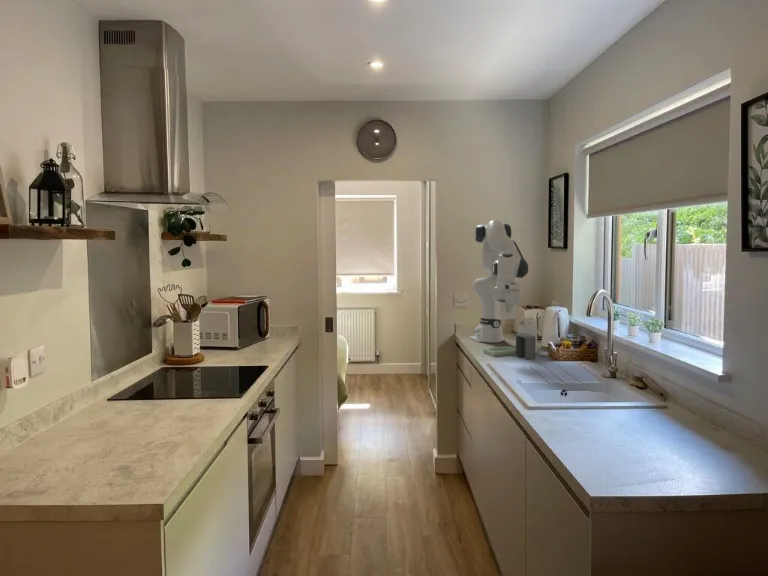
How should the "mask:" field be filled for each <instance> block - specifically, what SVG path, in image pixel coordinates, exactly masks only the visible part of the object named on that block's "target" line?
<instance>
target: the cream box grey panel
mask: <svg viewBox="0 0 768 576" xmlns="http://www.w3.org/2000/svg"><path fill="white" fill-rule="evenodd" d="M508 307H509V306H508V304H507V303H506V302H505V300H497V301H495V319H499V320H501V321H503V320H517V314H518V313H517V311H518V305H513V307H512V310H511V313H508V312H507V309H508Z"/></svg>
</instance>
